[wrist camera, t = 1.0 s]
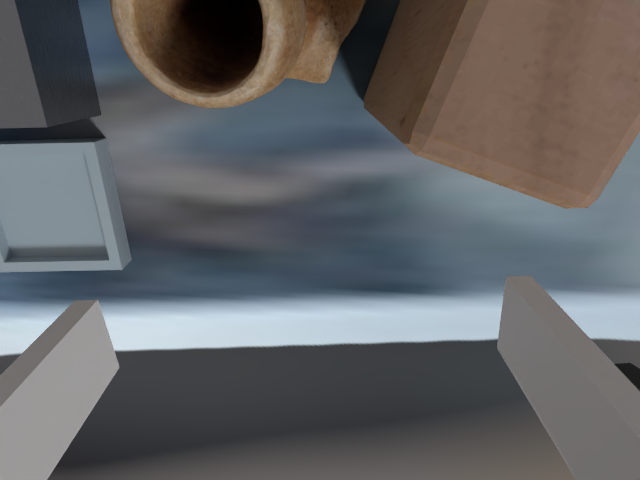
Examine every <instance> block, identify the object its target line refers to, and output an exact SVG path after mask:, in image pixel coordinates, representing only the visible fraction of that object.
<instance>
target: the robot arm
mask: <svg viewBox="0 0 640 480" xmlns="http://www.w3.org/2000/svg"><path fill="white" fill-rule="evenodd" d="M497 348H498V350H499V352H500V353H501V355H502V357H503V358H504V360H505V362H506V364H507V365H508V367H509V368H510V370H511V372H512V374H513V375H514V377H515V379H516V380H517V382H518V384H519V385H520V387H521V389H522V390H523V392H524V394H525V395H526V397H527V398H528V400H529V402H530V404H531V405H532V407H533V409H534V410H535V412H536V414H537V415H538V417H539V419H540V420H541V422H542V424H543V425H544V427H545V429H546V430H547V432H548V434H549V435H550V437H551V439H552V440H553V442H554V444H555V445H556V447H557V449H558V450H559V452H560V454H561V455H562V457H563V459H564V460H565V462H566V464H567V465H568V467H569V469H570V470H571V472H572V474H573V475H574V477H575V479H576V480H640V369H639V368H638V367H636V366H634V365H633V364H631V363H623V364H613V363H612V362H611V361H610V359H609V358H608V357H607V356H606V355H605V354H604V353H603V352H602V351H601V350H600V349H599V348H598V347H597V346H596V345H595V343H594V342H593V341H592V340H591V339H590V338H589V337H588V336H587V335H586V334H585V333H584V332H583V331H582V330H581V329H580V328H579V326H578V325H577V324H576V323H575V322H574V321H573V320H572V319H571V318H570V317H569V316H568V315H567V314H566V313H565V312H564V311H563V310H562V308H561V307H560V306H559V305H558V304H557V303H556V302H555V301H554V300H553V299H552V298H551V297H550V296H549V295H548V294H547V293H546V292H545V290H544V289H543V288H542V287H541V286H540V285H539V284H538V283H537V282H536V281H535V280H534V279H533V278H532V277H531V276H515V277H506V281H505V289H504V297H503V305H502V313H501V321H500V329H499V337H498V346H497ZM118 369H119V364H118V361H117V358H116V355H115V352H114V349H113V346H112V342H111V339H110V336H109V333H108V330H107V327H106V324H105V321H104V317H103V314H102V311H101V308H100V305H99V302H98V300H85V301H74V302H73V303H72V304H71V305H70V306H69V307H68V308H67V309H66V310H65V311H64V312H63V313H62V314H61V315H60V316H59V317H58V318H57V319H56V320H55V321H54V322H53V323H52V324H51V325H50V326H49V327H48V328H47V329H46V330H45V331H44V332H43V333H42V334H41V335H40V336H39V337H38V338H37V339H36V340H35V341H34V342H33V343H32V344H31V345H30V346H29V347H28V348H27V349H26V350H25V351H24V352H23V353H22V354H21V355H20V357H18V358H17V359H16V360H15V361H14V362H13V364H11V366H10V367H8V368H7V369H6V370H5V371H4V372H3V374H1V376H0V480H47V479H48V477H49V476H50V474H51V473H52V471H53V469H54V468H55V466H56V464H57V463H58V462H59V460H60V459H61V457H62V455H63V453H64V452H65V451H66V449H67V448H68V446H69V444H70V443H71V441H72V440H73V438H74V437H75V435H76V434H77V432H78V431H79V429H80V427H81V426H82V424H83V423H84V421H85V420H86V418H87V416H88V415H89V414H90V412H91V410H92V409H93V407H94V406H95V404H96V403H97V401H98V400H99V398H100V397H101V395H102V393H103V392H104V390H105V389H106V387H107V386H108V384H109V382H110V381H111V379H112V378H113V376H114V375H115V373H116V372H117V370H118Z"/></svg>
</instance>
